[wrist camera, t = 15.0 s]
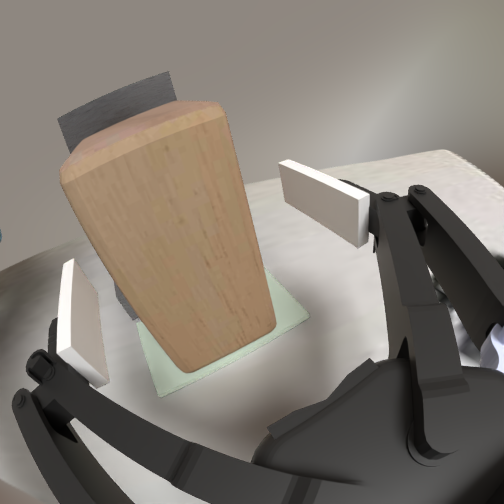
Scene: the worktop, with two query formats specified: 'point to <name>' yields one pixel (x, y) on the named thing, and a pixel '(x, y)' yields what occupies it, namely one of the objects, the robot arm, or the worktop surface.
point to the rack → (116, 120)
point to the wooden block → (175, 228)
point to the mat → (174, 379)
